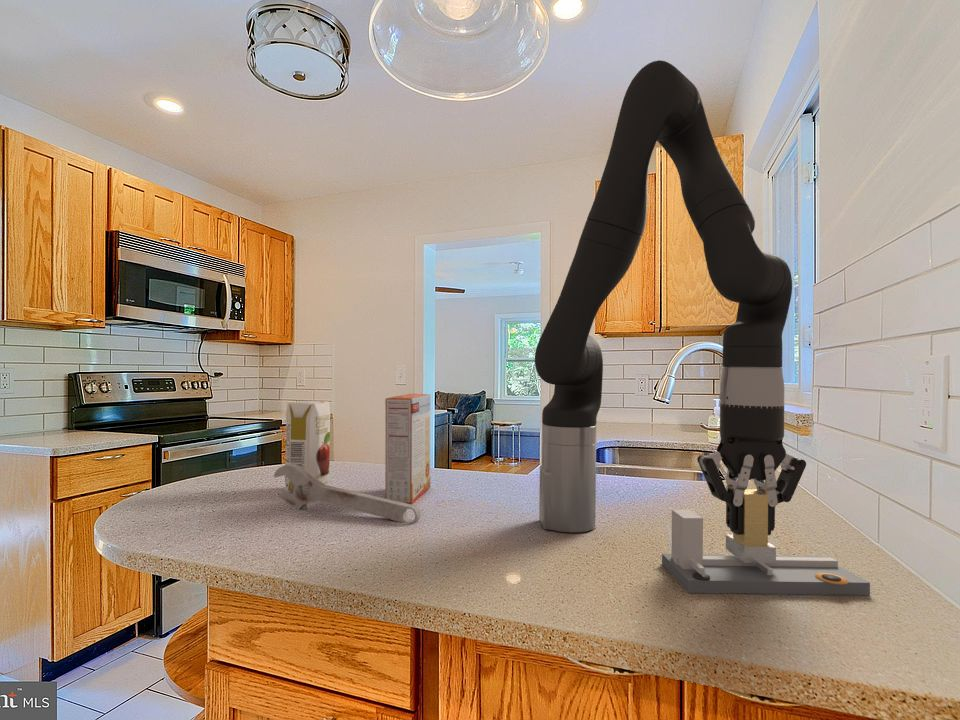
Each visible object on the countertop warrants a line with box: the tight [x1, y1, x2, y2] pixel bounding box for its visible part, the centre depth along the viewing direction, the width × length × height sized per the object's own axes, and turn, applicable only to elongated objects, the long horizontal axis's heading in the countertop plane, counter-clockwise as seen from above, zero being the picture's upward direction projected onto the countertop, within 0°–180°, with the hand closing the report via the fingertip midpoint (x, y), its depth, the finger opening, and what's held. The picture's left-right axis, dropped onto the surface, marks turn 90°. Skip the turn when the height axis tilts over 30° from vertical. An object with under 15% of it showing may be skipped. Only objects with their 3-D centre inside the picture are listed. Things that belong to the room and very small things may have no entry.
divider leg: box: [725, 488, 777, 575], centre depth 67 cm, size 4×7×9 cm, turn 0°
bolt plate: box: [661, 509, 871, 596], centre depth 67 cm, size 22×10×8 cm, turn 90°
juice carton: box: [284, 400, 331, 491], centre depth 111 cm, size 8×9×19 cm
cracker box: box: [384, 393, 431, 505], centre depth 108 cm, size 14×6×21 cm, turn 170°
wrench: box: [273, 464, 421, 524], centre depth 94 cm, size 8×2×30 cm
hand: (750, 532), depth 68 cm, fingers closed on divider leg, 3 cm apart
